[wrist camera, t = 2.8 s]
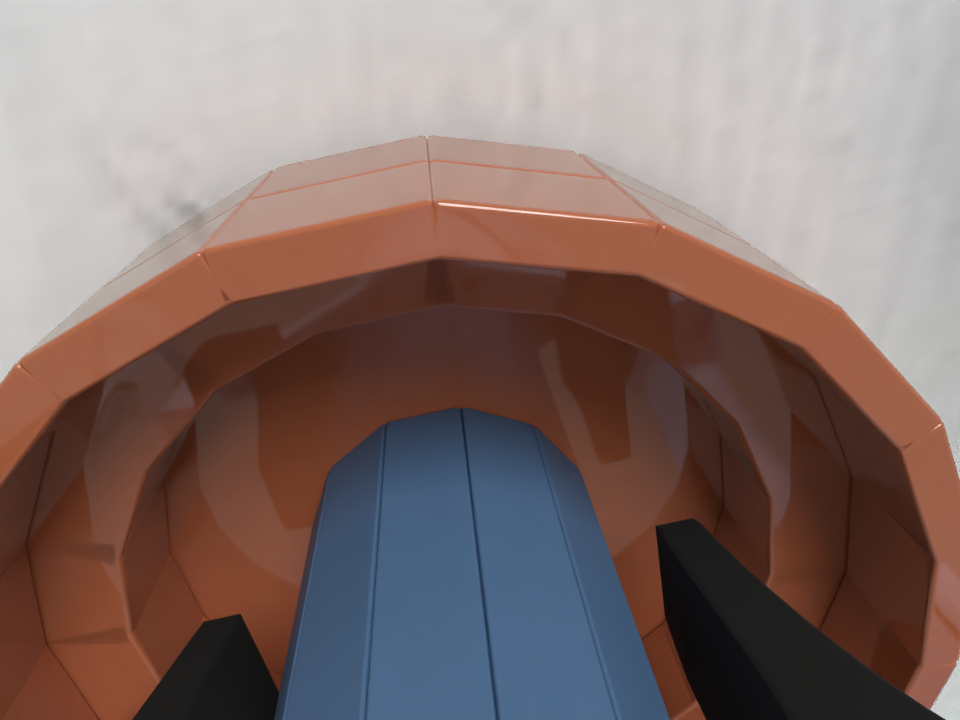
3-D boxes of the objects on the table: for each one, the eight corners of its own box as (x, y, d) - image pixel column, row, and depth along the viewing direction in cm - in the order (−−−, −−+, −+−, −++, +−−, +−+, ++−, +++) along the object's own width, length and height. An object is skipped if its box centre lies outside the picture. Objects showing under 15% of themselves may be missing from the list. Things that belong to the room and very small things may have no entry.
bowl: (801, 676, 17) (922, 882, 13) (229, 795, 17) (172, 1036, 13) (814, 43, 10) (1064, 61, 6) (-101, 244, 11) (-414, 384, 7)
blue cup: (600, 594, 14) (725, 985, 9) (359, 645, 14) (322, 1066, 9) (566, 383, 12) (705, 721, 6) (280, 444, 12) (157, 834, 6)
